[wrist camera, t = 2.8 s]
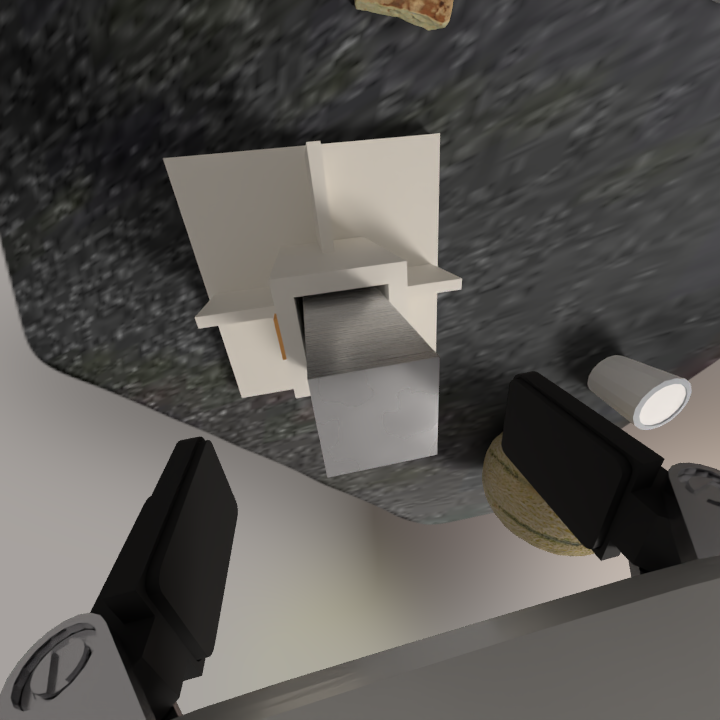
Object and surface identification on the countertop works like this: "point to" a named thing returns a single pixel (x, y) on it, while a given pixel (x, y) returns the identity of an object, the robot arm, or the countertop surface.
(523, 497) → the cantaloupe
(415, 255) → the cream stand
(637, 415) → the shot glass
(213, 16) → the countertop surface
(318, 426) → the steel post
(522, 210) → the countertop surface
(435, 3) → the shard
